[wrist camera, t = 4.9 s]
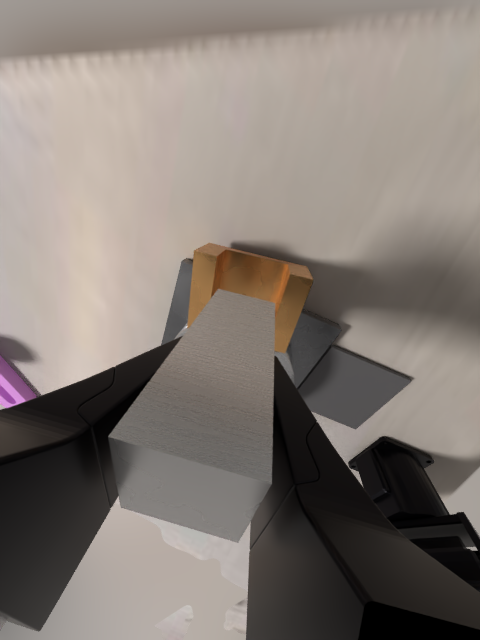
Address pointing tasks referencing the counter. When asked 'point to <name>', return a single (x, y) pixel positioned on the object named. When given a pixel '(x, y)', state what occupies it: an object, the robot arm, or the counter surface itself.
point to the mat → (349, 387)
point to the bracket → (12, 387)
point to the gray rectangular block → (204, 423)
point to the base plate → (304, 343)
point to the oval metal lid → (251, 288)
